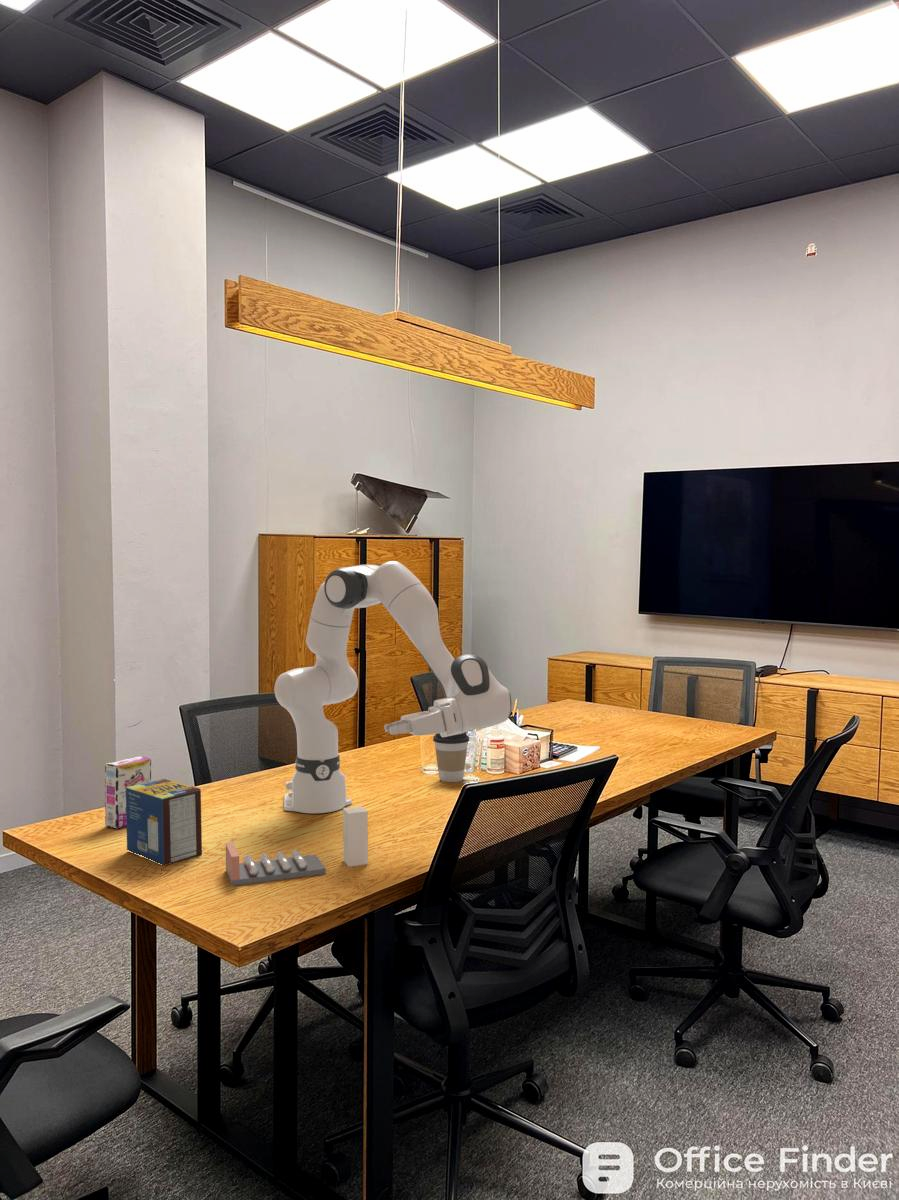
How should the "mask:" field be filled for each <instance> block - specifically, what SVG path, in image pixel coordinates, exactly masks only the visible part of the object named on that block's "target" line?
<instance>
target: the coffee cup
mask: <svg viewBox="0 0 899 1200" xmlns="http://www.w3.org/2000/svg"><path fill="white" fill-rule="evenodd" d="M432 741H433V742H434V748H435V756H436V764H437V773H438V778H439V781H440V780H441V781H440V782H442V781H445V782H444V783H447V782H455V783H459V782H462V781H463V778H464V775H465V768H466V767H465V766H466V759H467V751H468V743H469V742H470V736H469V735H468V734H467V731H466V732H464V733H461V734H457V735H452V736H448V737H441V735H440V733H439V734H434V736H433V737H432Z"/></svg>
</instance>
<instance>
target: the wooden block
mask: <svg viewBox="0 0 899 1200" xmlns="http://www.w3.org/2000/svg"><path fill="white" fill-rule="evenodd" d="M368 815H369V814H368V810H367V809H366V808H365V807H364V806H361V805H360V806H353V807H343V808H342V832H343V833H342V842H343V843H342V846H343V847H342V850H343V852H342V854H343V855H342V856H343V857H342V858H343V860H344V861H343V862H344V863H345V865H346V866H347V867H357V866H364V865H365V864H366V865H368V864H369V860H368V859H369V850H368V848H369V846H368V845H369V842H368V841H369V840H368V839H369V834H368V833H369V832H368V831H369V830H368V827H369V826H368V825H369V824H368V820H369V819H368Z"/></svg>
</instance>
